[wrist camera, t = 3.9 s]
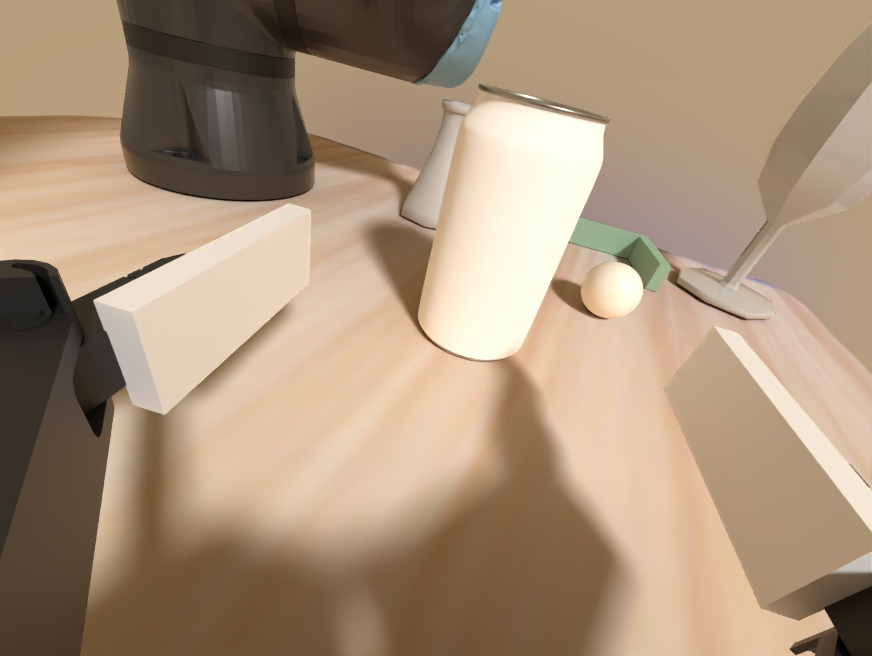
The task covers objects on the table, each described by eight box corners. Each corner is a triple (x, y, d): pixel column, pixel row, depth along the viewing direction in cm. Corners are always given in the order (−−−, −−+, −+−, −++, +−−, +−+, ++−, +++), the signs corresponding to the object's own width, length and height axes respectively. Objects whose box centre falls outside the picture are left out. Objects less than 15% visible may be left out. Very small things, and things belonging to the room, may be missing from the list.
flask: (387, 217, 34) (404, 92, 29) (415, 199, 40) (434, 93, 35) (460, 241, 33) (493, 117, 28) (478, 220, 39) (508, 113, 34)
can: (451, 288, 26) (505, 88, 19) (536, 332, 24) (632, 123, 17) (393, 325, 21) (439, 74, 14) (493, 384, 19) (604, 120, 12)
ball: (562, 305, 27) (586, 256, 25) (586, 294, 30) (610, 248, 28) (611, 335, 25) (642, 285, 23) (633, 320, 28) (663, 273, 26)
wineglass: (781, 312, 36) (1021, 47, 24) (755, 332, 31) (1044, 8, 19) (692, 269, 41) (854, 32, 29) (658, 280, 36) (837, -2, 24)
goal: (655, 291, 33) (671, 267, 32) (515, 251, 34) (525, 225, 33) (634, 257, 40) (647, 235, 39) (517, 224, 41) (525, 202, 39)
